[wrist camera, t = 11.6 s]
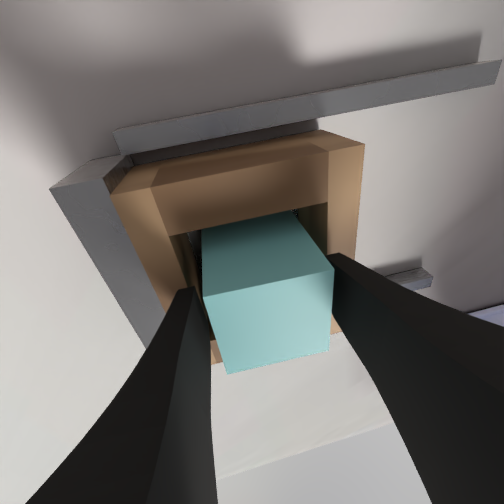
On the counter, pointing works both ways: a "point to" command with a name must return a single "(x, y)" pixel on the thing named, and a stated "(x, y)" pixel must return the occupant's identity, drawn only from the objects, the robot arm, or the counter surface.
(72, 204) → the backstop
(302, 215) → the brown rectangular frame
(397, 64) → the counter surface
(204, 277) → the aqua rectangular prism
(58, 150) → the counter surface
